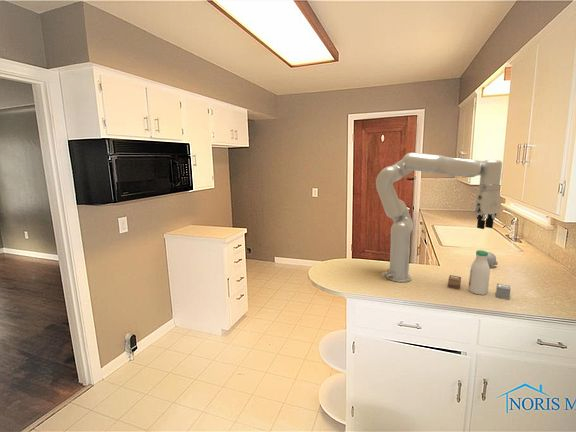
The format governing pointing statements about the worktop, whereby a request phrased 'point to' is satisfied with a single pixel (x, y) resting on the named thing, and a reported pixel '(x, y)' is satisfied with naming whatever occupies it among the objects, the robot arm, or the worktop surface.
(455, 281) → the walnut block
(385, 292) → the worktop surface
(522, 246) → the worktop surface
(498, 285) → the slate grey block
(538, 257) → the worktop surface
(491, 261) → the chubby cartoon animal
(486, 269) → the milk bottle
